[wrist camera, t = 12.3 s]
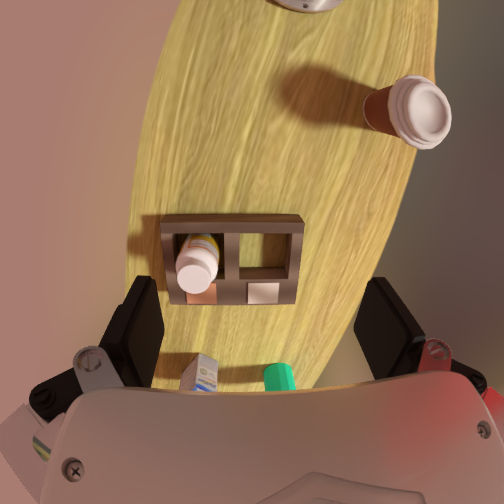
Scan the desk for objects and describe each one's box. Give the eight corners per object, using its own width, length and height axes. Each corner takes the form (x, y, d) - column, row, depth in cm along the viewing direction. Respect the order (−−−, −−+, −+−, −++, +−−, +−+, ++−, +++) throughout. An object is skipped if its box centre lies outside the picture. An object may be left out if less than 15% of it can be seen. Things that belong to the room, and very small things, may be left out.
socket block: (165, 214, 38) (158, 223, 34) (298, 214, 39) (305, 223, 36) (174, 291, 43) (169, 305, 40) (291, 291, 45) (295, 305, 41)
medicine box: (200, 379, 54) (197, 412, 46) (181, 372, 52) (176, 405, 44) (218, 360, 51) (217, 395, 43) (198, 351, 50) (194, 386, 42)
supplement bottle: (198, 267, 42) (189, 305, 33) (176, 240, 40) (161, 273, 31) (227, 250, 41) (225, 286, 32) (206, 221, 39) (198, 251, 30)
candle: (271, 360, 52) (278, 409, 41) (297, 365, 53) (308, 413, 42) (258, 377, 54) (263, 424, 43) (283, 382, 55) (291, 427, 44)
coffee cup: (405, 88, 31) (457, 84, 20) (405, 144, 35) (456, 156, 24) (352, 77, 30) (397, 63, 20) (353, 138, 34) (398, 146, 24)
